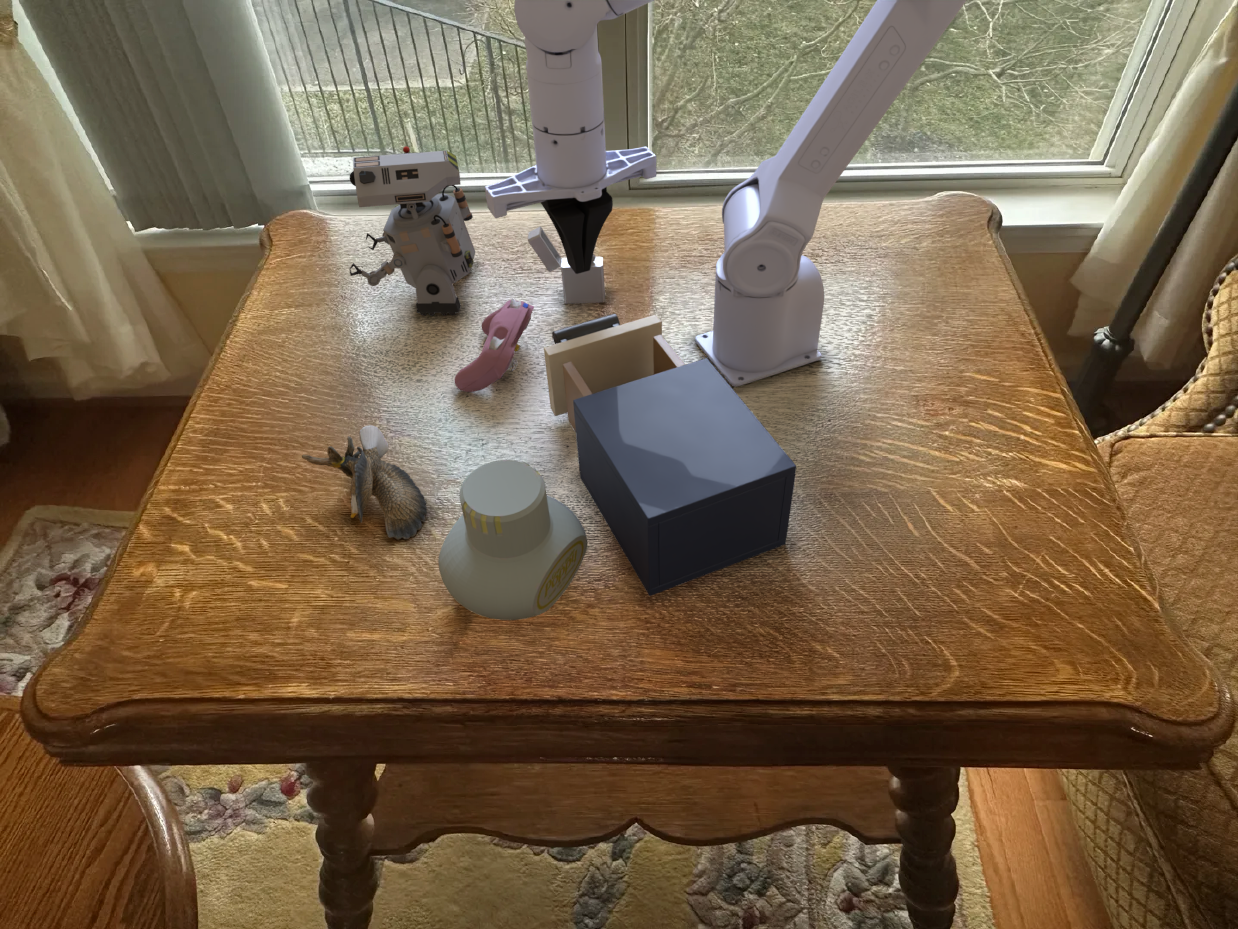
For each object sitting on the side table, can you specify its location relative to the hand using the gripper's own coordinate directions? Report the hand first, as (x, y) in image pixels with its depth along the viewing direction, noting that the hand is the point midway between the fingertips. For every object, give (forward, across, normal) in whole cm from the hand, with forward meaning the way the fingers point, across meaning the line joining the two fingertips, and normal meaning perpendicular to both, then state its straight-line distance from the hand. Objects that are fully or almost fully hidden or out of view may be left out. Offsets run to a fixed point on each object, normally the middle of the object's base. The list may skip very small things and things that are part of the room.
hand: (579, 266), depth 83 cm
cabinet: (+9, -1, -22) cm, 24 cm away
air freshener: (+10, -15, -23) cm, 29 cm away
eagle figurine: (+10, -23, -11) cm, 27 cm away
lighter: (+10, +2, +9) cm, 13 cm away
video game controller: (+10, -8, +2) cm, 13 cm away
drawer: (+9, -1, -11) cm, 14 cm away
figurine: (+10, -11, +17) cm, 22 cm away
